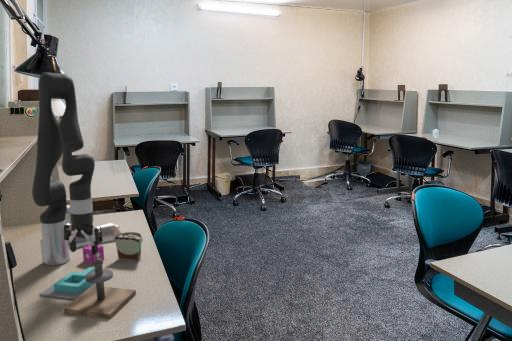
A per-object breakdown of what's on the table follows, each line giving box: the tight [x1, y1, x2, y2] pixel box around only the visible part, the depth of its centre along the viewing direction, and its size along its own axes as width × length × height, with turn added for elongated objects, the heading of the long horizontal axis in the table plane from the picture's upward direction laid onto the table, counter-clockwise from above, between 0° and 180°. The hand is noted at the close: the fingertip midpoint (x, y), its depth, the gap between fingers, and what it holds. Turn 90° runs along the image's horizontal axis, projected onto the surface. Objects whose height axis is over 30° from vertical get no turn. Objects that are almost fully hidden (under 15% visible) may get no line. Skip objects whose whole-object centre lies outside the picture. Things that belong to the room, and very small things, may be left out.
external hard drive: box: [96, 222, 120, 229], centre depth 213 cm, size 2×8×12 cm
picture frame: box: [71, 225, 122, 249], centre depth 199 cm, size 16×2×22 cm
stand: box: [63, 258, 137, 319], centre depth 138 cm, size 16×16×16 cm
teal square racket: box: [53, 266, 95, 294], centre depth 153 cm, size 10×15×2 cm, turn 167°
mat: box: [38, 281, 96, 301], centre depth 151 cm, size 15×16×1 cm
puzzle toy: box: [81, 244, 105, 265], centre depth 174 cm, size 6×6×6 cm
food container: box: [114, 231, 144, 262], centre depth 176 cm, size 12×6×10 cm, turn 74°
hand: (84, 252), depth 156 cm, fingers open, 8 cm apart
